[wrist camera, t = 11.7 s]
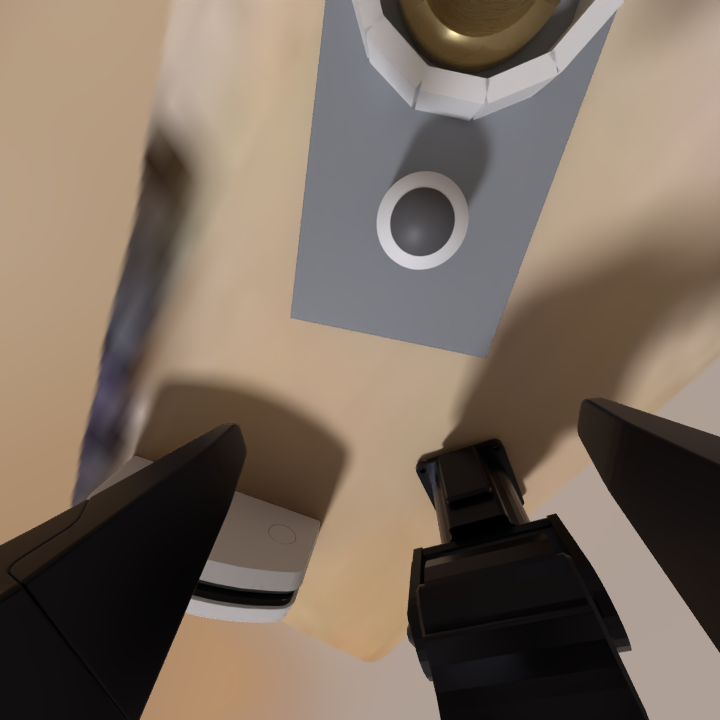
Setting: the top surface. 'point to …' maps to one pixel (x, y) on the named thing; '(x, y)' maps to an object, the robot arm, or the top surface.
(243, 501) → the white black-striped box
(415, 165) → the board
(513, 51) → the gold pepper grinder
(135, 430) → the top surface
